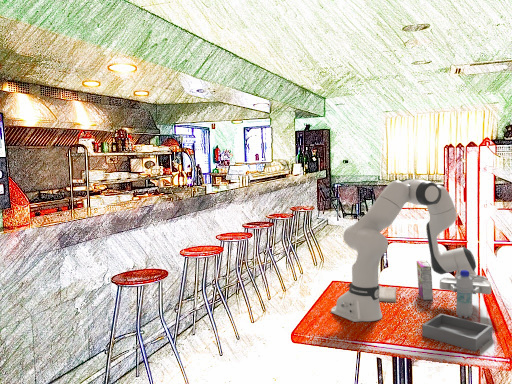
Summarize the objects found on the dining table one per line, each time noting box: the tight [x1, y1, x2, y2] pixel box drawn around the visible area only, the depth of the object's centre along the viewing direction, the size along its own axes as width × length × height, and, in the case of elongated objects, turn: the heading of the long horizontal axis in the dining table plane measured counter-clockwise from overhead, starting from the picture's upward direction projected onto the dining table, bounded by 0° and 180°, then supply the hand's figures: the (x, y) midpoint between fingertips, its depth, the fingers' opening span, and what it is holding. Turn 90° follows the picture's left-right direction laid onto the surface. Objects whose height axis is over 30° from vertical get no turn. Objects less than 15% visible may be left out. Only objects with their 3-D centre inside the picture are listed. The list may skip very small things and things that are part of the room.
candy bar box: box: [416, 260, 434, 301], centre depth 221 cm, size 11×5×16 cm, turn 171°
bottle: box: [455, 270, 473, 319], centre depth 192 cm, size 7×7×20 cm
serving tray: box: [421, 313, 493, 352], centre depth 175 cm, size 20×16×4 cm
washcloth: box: [379, 285, 397, 303], centre depth 225 cm, size 12×18×3 cm, turn 164°
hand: (464, 291), depth 191 cm, fingers closed on bottle, 6 cm apart
